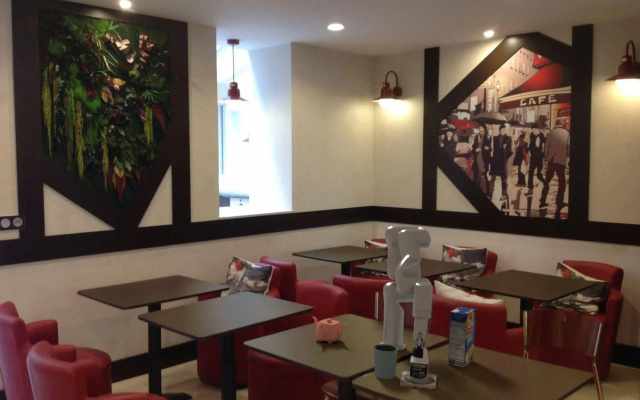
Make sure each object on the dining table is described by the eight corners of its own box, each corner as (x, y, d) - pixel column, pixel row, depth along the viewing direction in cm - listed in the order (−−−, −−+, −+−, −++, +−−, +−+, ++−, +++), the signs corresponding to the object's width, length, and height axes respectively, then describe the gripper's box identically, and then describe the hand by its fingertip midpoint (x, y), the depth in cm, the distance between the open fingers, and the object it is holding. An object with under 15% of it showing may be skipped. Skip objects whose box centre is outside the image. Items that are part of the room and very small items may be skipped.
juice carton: (457, 357, 272) (460, 306, 270) (473, 360, 268) (476, 309, 266) (447, 364, 262) (450, 311, 260) (464, 368, 258) (467, 314, 256)
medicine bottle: (409, 378, 238) (410, 349, 237) (410, 372, 245) (411, 344, 244) (427, 380, 237) (428, 351, 236) (427, 374, 243) (429, 346, 243)
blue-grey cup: (390, 382, 239) (391, 353, 238) (368, 376, 244) (369, 348, 244) (400, 374, 248) (401, 346, 247) (379, 369, 253) (380, 342, 252)
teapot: (346, 344, 285) (347, 322, 284) (317, 345, 282) (318, 323, 281) (338, 335, 299) (339, 314, 298) (311, 336, 296) (312, 315, 295)
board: (403, 373, 249) (403, 368, 249) (436, 377, 246) (436, 372, 246) (399, 385, 235) (400, 381, 235) (435, 390, 232) (435, 385, 232)
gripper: (414, 306, 248) (411, 345, 250) (411, 318, 231) (408, 359, 233) (432, 307, 246) (429, 347, 248) (430, 320, 229) (427, 362, 231)
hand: (419, 353), depth 240 cm, fingers open, 9 cm apart
